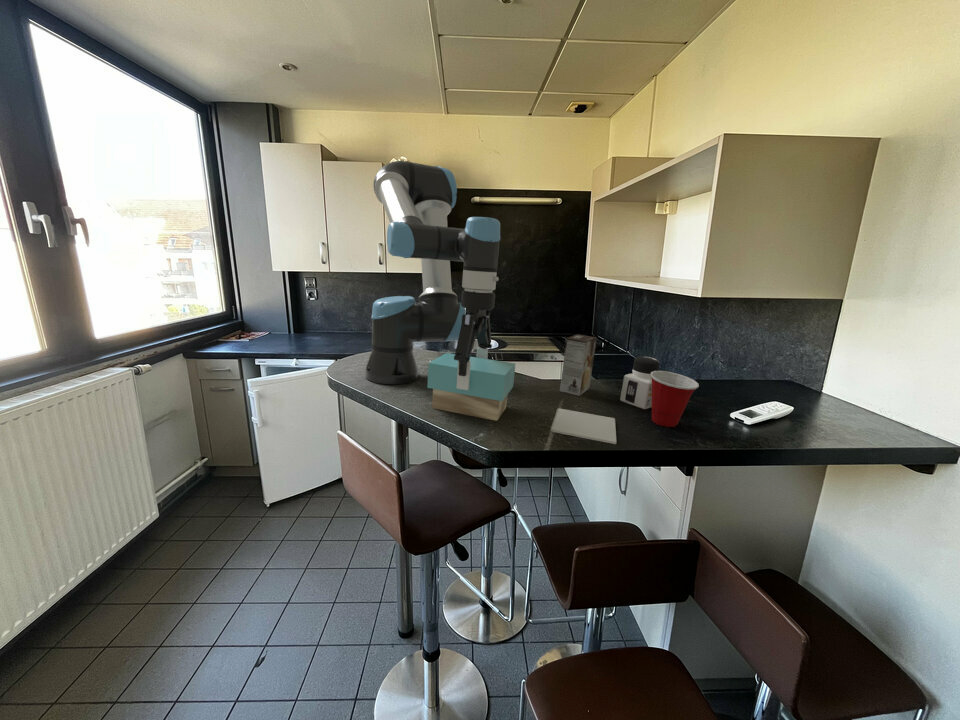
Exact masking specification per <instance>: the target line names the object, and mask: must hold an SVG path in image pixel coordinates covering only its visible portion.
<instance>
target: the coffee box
mask: <svg viewBox="0 0 960 720" xmlns="http://www.w3.org/2000/svg"><path fill="white" fill-rule="evenodd" d="M597 339H598V336H597V337H596V336H589V335H585V334H574V335H571V336H569V337H567V338H566V340H565V341H566V342H565V347H564V355H563V363H562V372H561V378H560V379H561V380H560V386H559V391H560V392H561V393H566V394H571V395H574V396H579V397H580V396H582V395H583V394H584V393H585V392H586V391H588V390H589V389H590V386H591V379H592V373H593V372H592V371H593V365H594V359H595V353H596V346H597Z"/></svg>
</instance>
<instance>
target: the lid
mask: <svg viewBox="0 0 960 720" xmlns="http://www.w3.org/2000/svg"><path fill="white" fill-rule="evenodd" d="M454 356H455V353H451V352H450V353H449V352H445V353H443V354H442V355H440V356H439V357H437V358H435V359H434V360H433V359H432V360H431V361H430V362H428V368H427V389H432V390H433V389H437V390H442V391H448V392H454V393H459V394H465V395H470V396H476V397H481V398H487V399H492V400H498V401H503V400H504V398H505V397H506V396H507V397H508V395H507V394H510V392H511V390H512V389H513V388H514V382H515V371H516V363H515V362H507V361H502V360H496V359H489V358H487V359H483V358H476V356H470V360H469V361H471V368H470V383H469V390H463V389H457V388H456V387H457V371H458V360H454Z"/></svg>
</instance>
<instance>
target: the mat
mask: <svg viewBox="0 0 960 720" xmlns="http://www.w3.org/2000/svg"><path fill="white" fill-rule="evenodd" d="M555 411H556V412H555V415H554V417H553V420H552V424H551V427H550V430H549V432H550V433H551V432H552V433H556V434H561V435H567V436H571V437H572V436H573V437H576V438H582V439H587V440H592V441H595V442H596V441H598V442H602V443H609V444H611V445H612V444H613V445H617V431H616V430H617V429H616V418H615V417H609V416H604V415H599V414H593V413H588V412H581V411H577V410H571V409H565V408H558V407H557V408H556V410H555Z"/></svg>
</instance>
